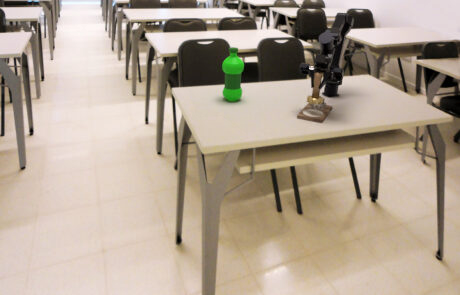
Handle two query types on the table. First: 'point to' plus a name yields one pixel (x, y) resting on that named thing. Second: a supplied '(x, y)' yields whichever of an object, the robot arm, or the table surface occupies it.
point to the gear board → (315, 112)
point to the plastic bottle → (232, 75)
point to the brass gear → (316, 90)
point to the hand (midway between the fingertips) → (315, 88)
